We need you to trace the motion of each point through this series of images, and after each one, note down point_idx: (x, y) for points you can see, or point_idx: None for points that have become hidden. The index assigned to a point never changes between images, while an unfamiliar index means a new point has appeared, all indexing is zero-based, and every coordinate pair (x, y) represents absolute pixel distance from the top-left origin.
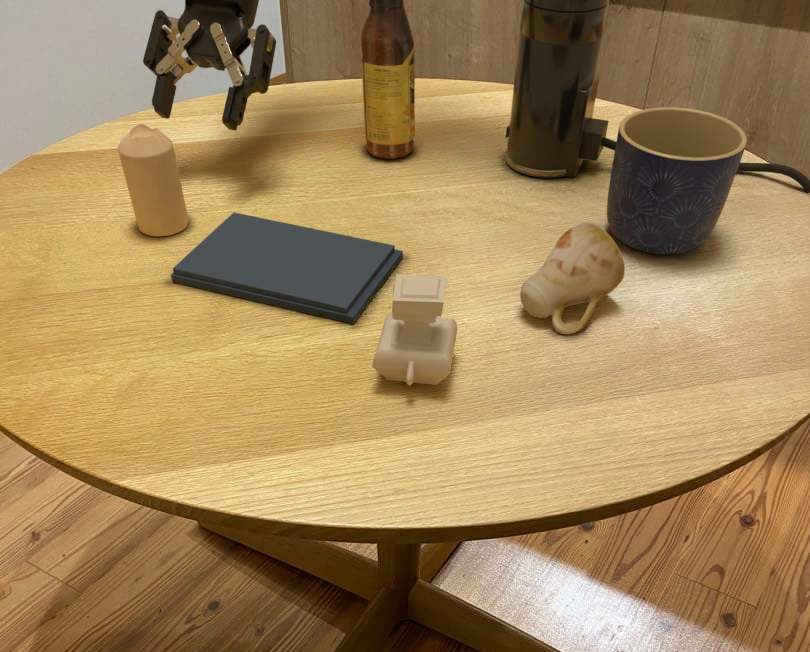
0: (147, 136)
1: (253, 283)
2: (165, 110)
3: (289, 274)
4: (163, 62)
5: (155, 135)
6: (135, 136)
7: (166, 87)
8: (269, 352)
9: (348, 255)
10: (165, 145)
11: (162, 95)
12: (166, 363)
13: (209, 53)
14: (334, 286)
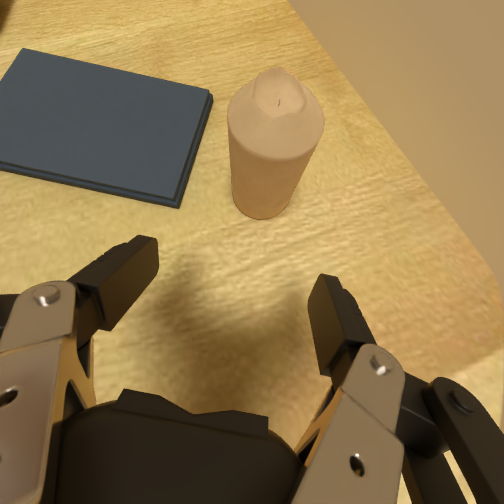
0: (275, 112)
1: (121, 74)
2: (315, 297)
3: (84, 89)
4: (386, 387)
5: (251, 90)
6: (296, 106)
7: (332, 325)
8: (104, 27)
9: (16, 125)
10: (233, 101)
11: (329, 296)
12: (183, 15)
13: (147, 433)
14: (34, 74)
